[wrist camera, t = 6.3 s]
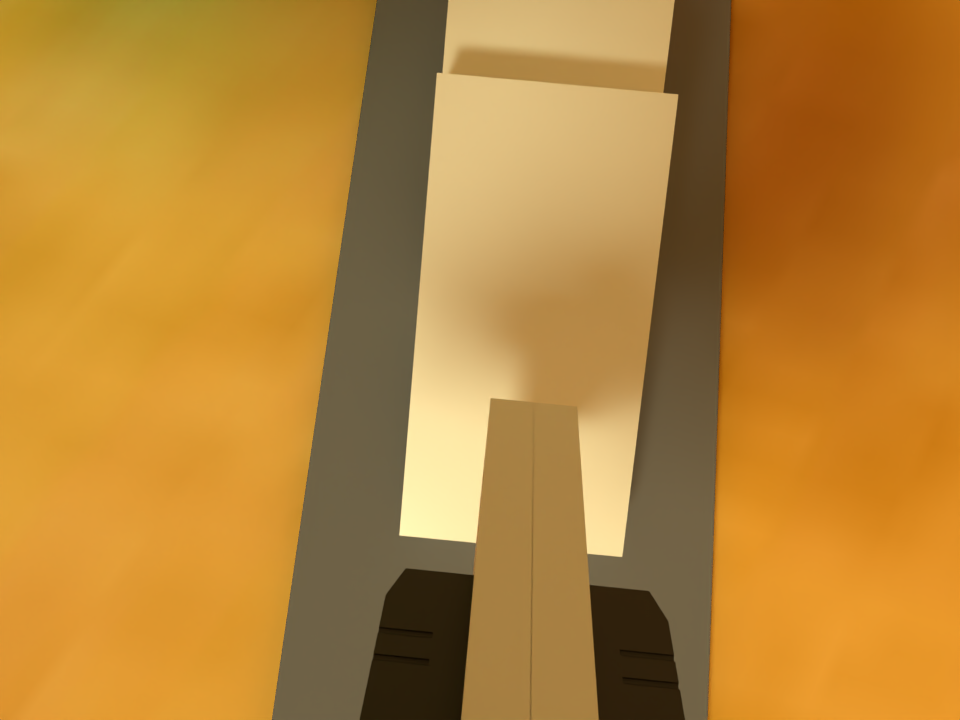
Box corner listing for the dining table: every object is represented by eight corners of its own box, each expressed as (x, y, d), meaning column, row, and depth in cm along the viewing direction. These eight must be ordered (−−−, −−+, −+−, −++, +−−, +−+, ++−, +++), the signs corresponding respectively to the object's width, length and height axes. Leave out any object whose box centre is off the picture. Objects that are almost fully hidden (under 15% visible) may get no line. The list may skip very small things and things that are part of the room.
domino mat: (697, 783, 19) (705, 790, 18) (274, 738, 19) (268, 745, 18) (726, -27, 24) (732, -42, 23) (389, -58, 24) (387, -73, 23)
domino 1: (631, 351, 19) (686, -102, 17) (420, 331, 19) (458, -122, 17) (621, 343, 20) (671, -74, 19) (427, 324, 21) (461, -92, 19)
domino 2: (622, 556, 18) (678, 94, 16) (399, 535, 18) (436, 72, 17) (612, 532, 19) (662, 107, 18) (407, 512, 19) (442, 88, 18)
